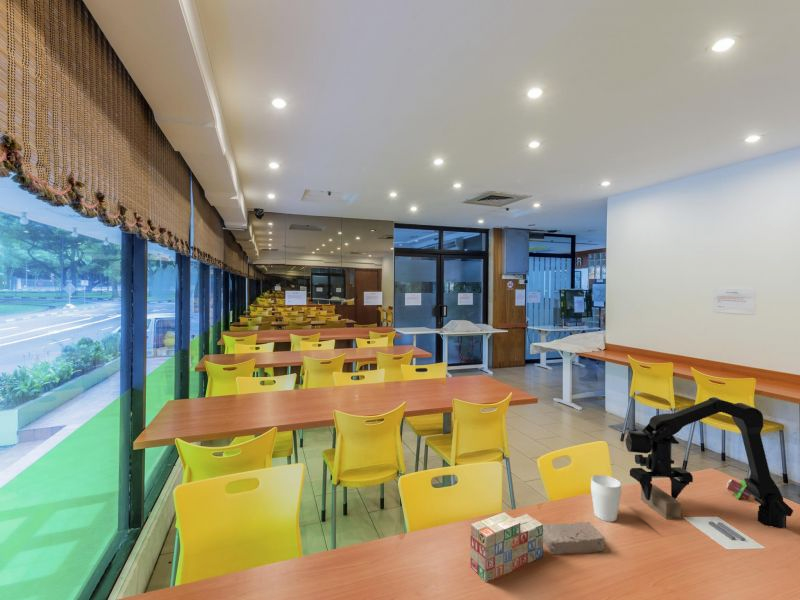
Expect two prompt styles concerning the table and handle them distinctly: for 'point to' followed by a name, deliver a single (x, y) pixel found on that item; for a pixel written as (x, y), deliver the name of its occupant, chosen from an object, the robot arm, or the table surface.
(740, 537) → the long grey stick
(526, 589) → the table surface
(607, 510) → the cup
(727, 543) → the board
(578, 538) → the brick
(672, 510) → the block
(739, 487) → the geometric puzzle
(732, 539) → the pencil mark
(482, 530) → the stack of blocks
